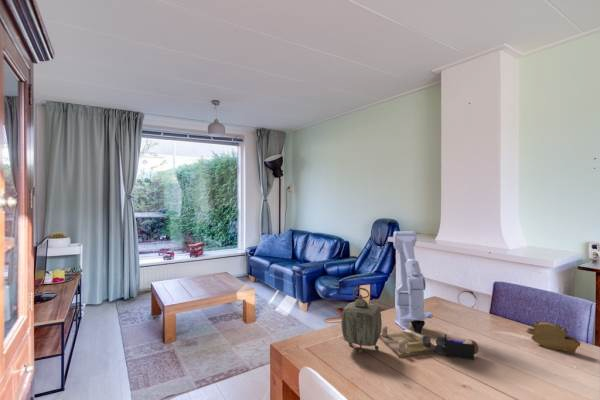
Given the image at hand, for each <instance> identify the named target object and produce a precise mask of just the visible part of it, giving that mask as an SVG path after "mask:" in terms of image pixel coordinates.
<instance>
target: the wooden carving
mask: <svg viewBox="0 0 600 400" xmlns="http://www.w3.org/2000/svg"><path fill="white" fill-rule="evenodd" d="M532 327H533V328H527V330H525V332H526V333H527V334H530V335H531V337H530V338H531V340H533V342H535V343H537V344H538V345H540V346H542V347H544V348H547V349H549V350H554V351H563V350H564V351H566V352H569V353H571V354H572V353H573V354H575V353H576V351H577V350H578V347H580V346H581V341H579V340H578V339H577V338H576V337H575V338H574V337H571V336H567V335H568V330H567V329H566V327H561V326H560V325H558V324H555V323H552V322H549V321H548V322H547V321H541V322H539V321H535V322H534V324H533V326H532Z"/></svg>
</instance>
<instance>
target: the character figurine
mask: <svg viewBox="0 0 600 400" xmlns="http://www.w3.org/2000/svg"><path fill="white" fill-rule="evenodd" d="M435 344H436V345H435V351H436V352H435V353H437V354H439V355H443V354H445V357H449V358H456V359H464V360H472V361H475V355H476V354H478V352H479V345H478V343H477V342H476V341H475V340H473V339H466V340H464V342H463V341H462V340H460V341H459V340H452V339H451V338H447V335H446V333H445V334H444V337H439V336H438V337H436V340H435Z"/></svg>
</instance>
